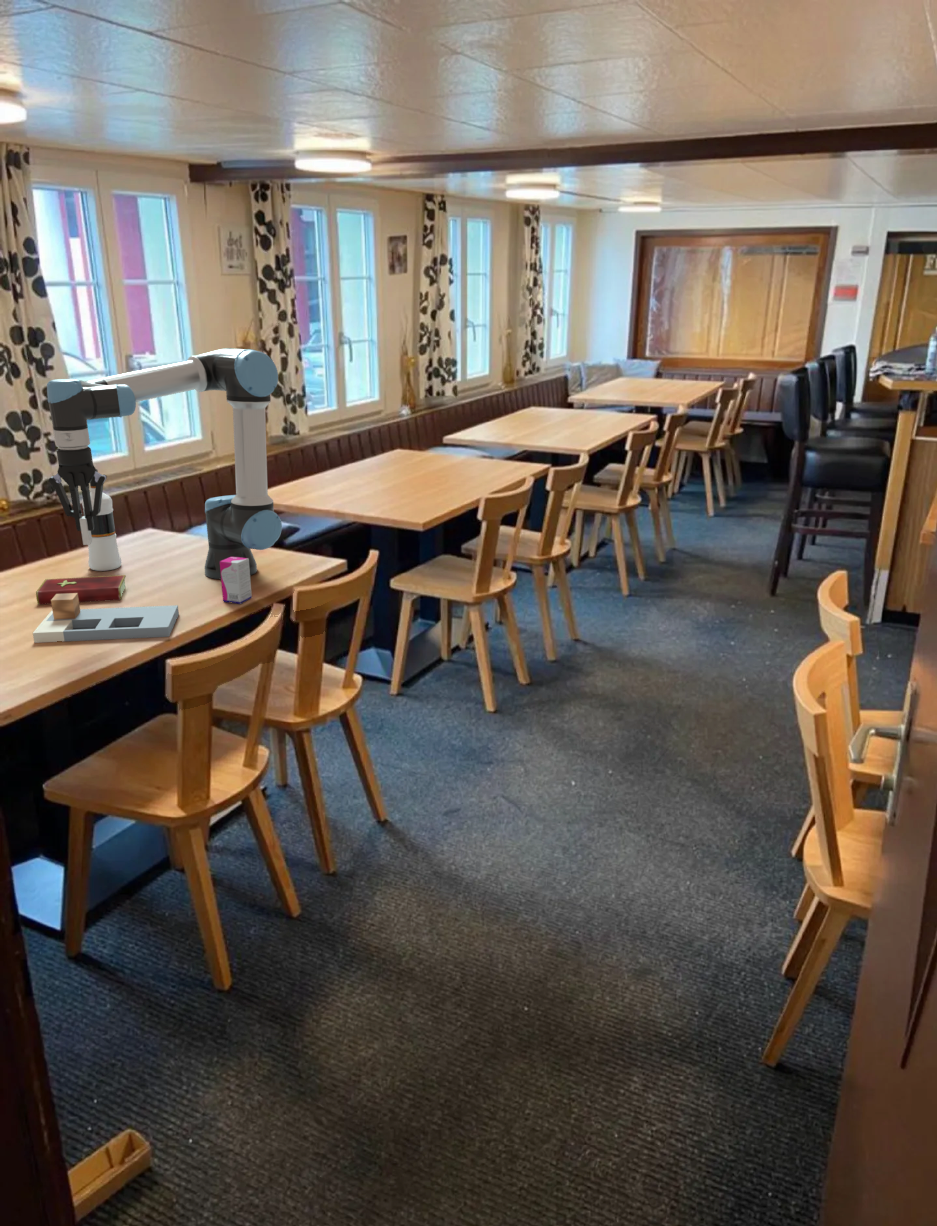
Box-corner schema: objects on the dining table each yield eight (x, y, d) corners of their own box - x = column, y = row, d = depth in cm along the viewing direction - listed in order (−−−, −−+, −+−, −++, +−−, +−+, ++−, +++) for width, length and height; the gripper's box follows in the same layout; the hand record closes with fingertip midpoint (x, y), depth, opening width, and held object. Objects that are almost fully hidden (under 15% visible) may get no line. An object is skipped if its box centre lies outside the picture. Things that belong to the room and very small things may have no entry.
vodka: (119, 570, 262) (107, 471, 252) (86, 572, 260) (72, 472, 250) (123, 562, 271) (111, 465, 260) (91, 563, 269) (78, 466, 258)
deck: (178, 614, 227) (177, 605, 226) (169, 636, 212) (167, 626, 211) (53, 619, 222) (51, 610, 221) (34, 642, 207) (32, 632, 206)
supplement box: (252, 597, 240) (249, 557, 236) (240, 604, 235) (237, 563, 231) (234, 595, 242) (231, 555, 238) (222, 601, 237) (218, 561, 233)
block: (80, 611, 221) (77, 593, 219) (75, 618, 216) (72, 599, 214) (59, 612, 220) (56, 593, 218) (53, 619, 215) (50, 600, 213)
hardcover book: (121, 601, 237) (119, 586, 236) (38, 606, 233) (35, 591, 231) (127, 588, 248) (125, 574, 247) (47, 592, 244) (45, 578, 242)
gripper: (39, 450, 202) (55, 548, 210) (98, 449, 204) (112, 546, 212) (48, 445, 209) (63, 540, 217) (105, 443, 211) (118, 538, 219)
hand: (87, 543), depth 214 cm, fingers closed
